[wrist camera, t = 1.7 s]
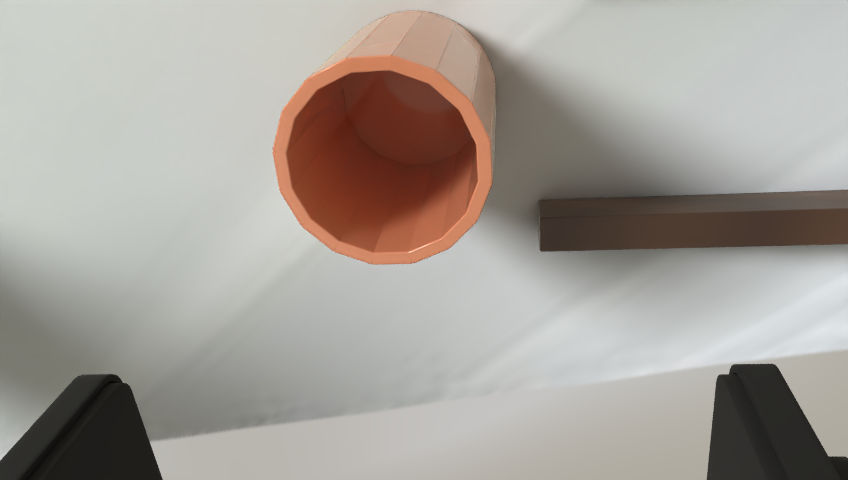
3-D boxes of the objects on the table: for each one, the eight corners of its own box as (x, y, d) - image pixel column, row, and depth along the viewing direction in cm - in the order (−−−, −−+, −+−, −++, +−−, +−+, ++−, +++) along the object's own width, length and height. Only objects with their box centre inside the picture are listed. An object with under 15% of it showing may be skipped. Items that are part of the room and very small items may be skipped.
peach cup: (347, 171, 31) (292, 266, 23) (326, 16, 28) (255, 63, 20) (498, 165, 30) (495, 262, 22) (492, 4, 27) (487, 49, 19)
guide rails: (537, 232, 32) (539, 252, 30) (534, -91, 26) (536, -90, 24) (922, 221, 29) (949, 242, 28) (1010, -132, 24) (1051, -134, 22)
